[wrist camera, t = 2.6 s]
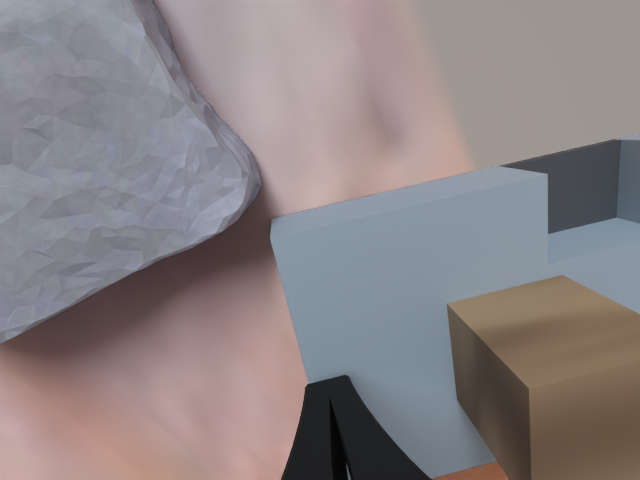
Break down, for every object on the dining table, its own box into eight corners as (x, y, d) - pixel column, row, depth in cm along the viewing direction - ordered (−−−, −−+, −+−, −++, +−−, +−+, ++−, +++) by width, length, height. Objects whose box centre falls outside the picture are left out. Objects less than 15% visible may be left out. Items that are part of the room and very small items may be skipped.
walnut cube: (561, 372, 13) (679, 473, 9) (457, 399, 13) (532, 514, 9) (562, 274, 12) (699, 344, 8) (446, 303, 11) (528, 388, 8)
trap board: (331, 447, 16) (350, 562, 12) (271, 218, 13) (267, 263, 8) (806, 324, 17) (984, 389, 13) (870, 80, 13) (1145, 56, 9)
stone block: (-171, 104, 12) (-4, 354, 13) (-492, 37, 7) (-182, 442, 8) (140, -62, 12) (282, 204, 13) (30, -243, 7) (269, 204, 8)
